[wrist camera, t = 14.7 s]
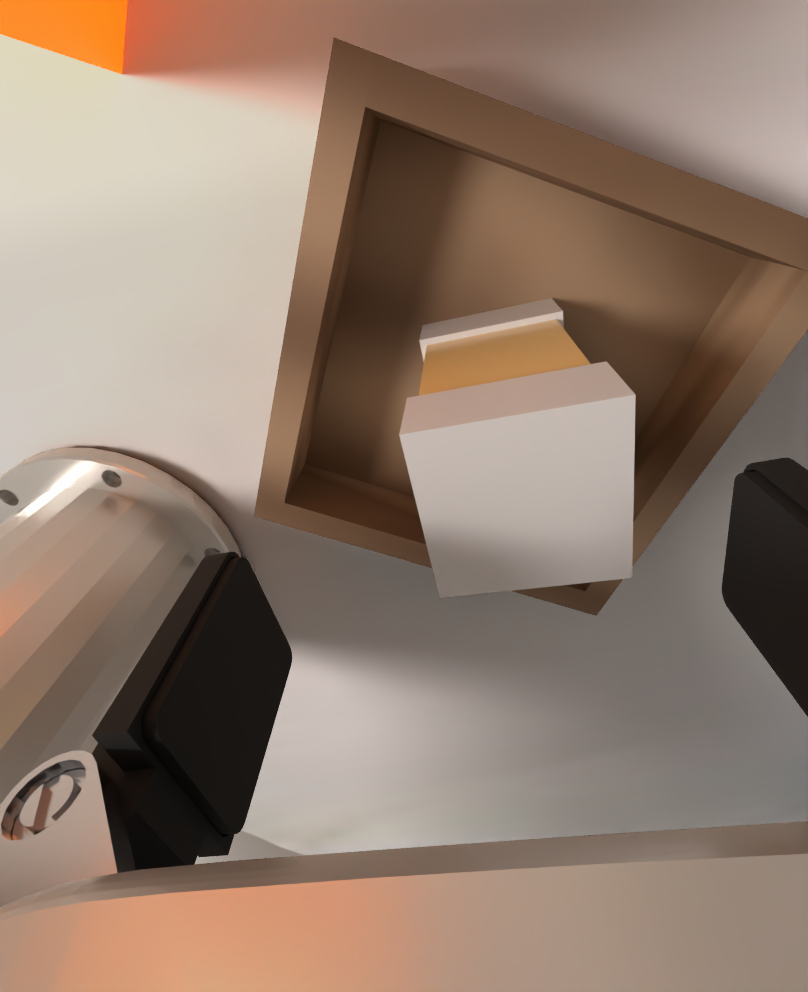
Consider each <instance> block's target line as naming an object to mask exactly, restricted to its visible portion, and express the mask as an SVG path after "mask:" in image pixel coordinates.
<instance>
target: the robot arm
mask: <svg viewBox="0 0 808 992" xmlns="http://www.w3.org/2000/svg"><path fill="white" fill-rule="evenodd" d="M722 595H723V598H724V601H725V604H726V606H727V607H728V609H729V610H730V612H731V613H732V614H733V616H734V617H735V618H736V620H737V621H738V622H739V624H740V625H741V627H742V628H743V629H744V631H745V632H746V633H747V635H748V636H749V637H750V639H751V640H752V641H753V643H754V644H755V646H756V647H757V648H758V650H759V651H760V652H761V654H762V655H763V656H764V658H765V659H766V660H767V662H768V663H769V665H770V666H771V667H772V669H773V670H774V671H775V673H776V674H777V675H778V677H779V678H780V679H781V681H782V682H783V684H784V685H785V686H786V688H787V689H788V690H789V692H790V693H791V694H792V696H793V697H794V699H795V700H796V701H797V703H798V704H799V705H800V707H801V708H802V709H803V711H804V712H805V713H806V715H807V716H808V470H807V469H805V468H804V467H802V466H801V465H799V464H798V463H797V462H795V461H794V460H792V459H790V458H780V459H774V460H768V461H762V462H757V463H751V464H749V465H747V467H746V468H745V470H744V473H740V474H738V475H737V476H736V478H735V482H734V489H733V498H732V506H731V514H730V523H729V531H728V540H727V548H726V557H725V565H724V573H723V582H722ZM291 663H292V652H291V648H290V645H289V643H288V641H287V639H286V637H285V635H284V633H283V631H282V629H281V627H280V625H279V623H278V621H277V619H276V617H275V615H274V613H273V611H272V609H271V606H270V604H269V602H268V600H267V598H266V596H265V594H264V592H263V590H262V588H261V586H260V584H259V582H258V580H257V578H256V576H255V574H254V572H253V570H252V568H251V565H250V563H249V562H248V560H247V559H246V558H245V557H241V554H240V551H239V548H238V545H237V544H236V542H235V540H234V538H233V536H232V535H231V533H230V531H229V529H228V528H227V526H226V525H225V524H224V522H223V521H222V520H221V519H220V518H219V516H218V515H217V514H216V513H215V511H214V510H213V509H212V508H211V507H210V506H209V505H208V504H207V503H206V502H205V501H204V500H202V499H201V498H200V497H199V496H198V495H197V494H196V493H195V492H194V491H193V490H191V489H190V488H188V487H187V486H185V485H184V484H182V483H181V482H180V481H178V480H177V479H175V478H174V477H172V476H171V475H169V474H167V473H165V472H163V471H161V470H159V469H157V468H155V467H153V466H151V465H149V464H147V463H145V462H143V461H140V460H137V459H134V458H132V457H129V456H126V455H123V454H120V453H117V452H111V451H105V450H100V449H94V448H60V449H55V450H50V451H45V452H41V453H39V454H37V455H35V456H33V457H30V458H28V459H26V460H24V461H22V462H21V463H20V464H18V465H17V466H15V467H14V468H12V469H11V470H9V471H8V472H7V473H5V474H4V475H2V476H1V477H0V992H808V821H806V822H791V823H775V824H759V825H743V826H727V827H712V828H696V829H680V830H664V831H649V832H633V833H618V834H603V835H588V836H573V837H559V838H544V839H529V840H514V841H500V842H486V843H471V844H457V845H442V846H428V847H413V848H399V849H386V850H372V851H359V852H345V853H332V854H318V855H305V856H291V857H278V858H264V859H253V860H239V861H227V862H216V863H207V864H196V865H194V864H195V861H196V858H197V855H198V856H199V857H207V856H220V855H221V856H222V855H228V853H229V850H230V847H231V844H232V840H233V837H234V834H237V833H238V832H240V831H241V829H242V828H243V826H244V823H245V820H246V817H247V813H248V810H249V807H250V803H251V800H252V796H253V793H254V790H255V786H256V783H257V779H258V776H259V773H260V769H261V766H262V762H263V759H264V756H265V752H266V749H267V745H268V742H269V739H270V735H271V732H272V728H273V725H274V722H275V718H276V715H277V711H278V708H279V705H280V701H281V698H282V694H283V691H284V688H285V684H286V681H287V677H288V674H289V671H290V667H291Z"/></svg>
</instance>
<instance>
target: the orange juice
mask: <svg viewBox="0 0 808 992" xmlns="http://www.w3.org/2000/svg"><path fill="white" fill-rule="evenodd" d="M126 14H127V0H0V34H2V35H5V36H8V37H11V38H14V39H17V40H20V41H23V42H26V43H29V44H32V45H35V46H38V47H41V48H44V49H47V50H50V51H53V52H56V53H59V54H62V55H65V56H68V57H71V58H74V59H78V60H81V61H84V62H87V63H90V64H93V65H96V66H99V67H102V68H105V69H108V70H111V71H114V72H117V73H120V74H122V68H123V54H124V41H125V27H126Z"/></svg>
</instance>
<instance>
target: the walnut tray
mask: <svg viewBox="0 0 808 992" xmlns="http://www.w3.org/2000/svg"><path fill="white" fill-rule="evenodd" d="M550 298H552V299H553V300H554V301H555V303H556V304H557V305H558V306H559V307H560V308H561V309H562V311H563V323H564V330H565V331H566V332H567V334H568V335H569V336H570V337H571V339H572V340H573V341H574V343H575V344H576V345H577V347H578V348H579V349H580V350H581V352H582V353H583V354H584V356H585V357H586V358H587V360H588V361H589V362H590V363H591V364H595V363H600V362H606V361H607V362H608V364H609V365H610V366H611V367H612V368H613V369H614V370H615V372H616V373H617V374H618V375H619V376H620V377H621V378H622V380H623V381H624V382H625V383H626V384H627V385H628V387H629V388H630V389H631V390H632V391H633V392H634V393H635V395H636V400H635V453H634V506H633V559H632V566H633V565H634V564H635V562H636V561H637V560H638V558H639V557H640V556H641V554H642V553H643V552H644V550H645V549H646V547H647V546H648V545H649V543H650V542H651V541H652V539H653V538H654V537H655V535H656V534H657V533H658V531H659V530H660V529H661V527H662V526H663V524H664V523H665V522H666V520H667V519H668V518H669V516H670V515H671V514H672V512H673V511H674V510H675V508H676V507H677V506H678V504H679V503H680V501H681V500H682V499H683V497H684V496H685V495H686V493H687V492H688V491H689V489H690V488H691V487H692V485H693V484H694V483H695V481H696V480H697V478H698V477H699V476H700V474H701V473H702V472H703V470H704V469H705V468H706V466H707V465H708V464H709V462H710V461H711V459H712V458H713V457H714V455H715V454H716V453H717V451H718V450H719V449H720V447H721V446H722V445H723V443H724V442H725V441H726V439H727V438H728V436H729V435H730V434H731V432H732V431H733V430H734V428H735V427H736V426H737V424H738V423H739V422H740V420H741V419H742V418H743V416H744V415H745V413H746V412H747V411H748V409H749V408H750V407H751V405H752V404H753V403H754V401H755V400H756V399H757V397H758V396H759V395H760V393H761V392H762V390H763V389H764V388H765V386H766V385H767V384H768V382H769V381H770V380H771V378H772V377H773V376H774V374H775V373H776V371H777V370H778V369H779V367H780V366H781V365H782V363H783V362H784V361H785V359H786V358H787V357H788V355H789V354H790V353H791V351H792V350H793V348H794V347H795V346H796V344H797V343H798V342H799V340H800V339H801V338H802V336H803V335H804V334H805V332H806V331H807V330H808V218H805V217H803V216H800V215H797V214H795V213H792V212H789V211H787V210H784V209H782V208H779V207H776V206H774V205H771V204H769V203H766V202H763V201H761V200H758V199H755V198H753V197H750V196H748V195H745V194H742V193H740V192H737V191H734V190H732V189H729V188H727V187H724V186H721V185H719V184H716V183H714V182H711V181H708V180H706V179H703V178H700V177H698V176H695V175H693V174H690V173H687V172H685V171H682V170H679V169H677V168H674V167H672V166H669V165H666V164H664V163H661V162H659V161H656V160H653V159H651V158H648V157H645V156H643V155H640V154H638V153H635V152H632V151H630V150H627V149H624V148H622V147H619V146H617V145H614V144H611V143H609V142H606V141H604V140H601V139H598V138H596V137H593V136H590V135H588V134H585V133H583V132H580V131H577V130H575V129H572V128H570V127H567V126H564V125H562V124H559V123H556V122H554V121H551V120H549V119H546V118H543V117H541V116H538V115H535V114H533V113H530V112H528V111H525V110H522V109H520V108H517V107H515V106H512V105H509V104H507V103H504V102H501V101H499V100H496V99H494V98H491V97H488V96H486V95H483V94H480V93H478V92H475V91H473V90H470V89H467V88H465V87H462V86H460V85H457V84H454V83H452V82H449V81H446V80H444V79H441V78H439V77H436V76H433V75H431V74H428V73H425V72H423V71H420V70H418V69H415V68H412V67H410V66H407V65H405V64H402V63H399V62H397V61H394V60H391V59H389V58H386V57H384V56H381V55H378V54H376V53H373V52H370V51H368V50H365V49H363V48H360V47H357V46H355V45H352V44H350V43H347V42H344V41H342V40H339V39H336V38H334V40H333V46H332V52H331V58H330V64H329V70H328V76H327V82H326V88H325V94H324V100H323V106H322V112H321V118H320V124H319V130H318V136H317V142H316V148H315V154H314V160H313V166H312V172H311V178H310V184H309V190H308V196H307V202H306V208H305V214H304V220H303V226H302V232H301V238H300V244H299V250H298V256H297V262H296V268H295V274H294V280H293V286H292V292H291V298H290V304H289V310H288V316H287V322H286V328H285V334H284V340H283V346H282V352H281V358H280V364H279V370H278V376H277V382H276V388H275V394H274V400H273V406H272V412H271V418H270V424H269V430H268V436H267V442H266V448H265V454H264V460H263V466H262V472H261V478H260V484H259V490H258V496H257V502H256V508H255V514H254V516H255V517H258V518H262V519H265V520H268V521H272V522H275V523H279V524H282V525H286V526H289V527H293V528H296V529H299V530H303V531H306V532H310V533H313V534H317V535H320V536H324V537H327V538H331V539H334V540H337V541H341V542H344V543H348V544H351V545H355V546H358V547H362V548H365V549H368V550H372V551H375V552H379V553H382V554H386V555H389V556H393V557H396V558H399V559H403V560H406V561H410V562H413V563H417V564H420V565H424V566H427V567H431V568H432V565H431V561H430V557H429V553H428V549H427V545H426V541H425V537H424V533H423V529H422V525H421V521H420V517H419V513H418V509H417V505H416V501H415V497H414V493H413V489H412V485H411V481H410V477H409V473H408V469H407V464H406V460H405V456H404V452H403V448H402V444H401V440H400V436H399V433H400V428H401V424H402V419H403V414H404V410H405V405H406V400H407V398H409V397H415V396H419V390H420V384H421V378H422V372H423V365H424V361H423V356H422V351H421V347H420V342H419V339H420V334H421V330H422V325H426V324H430V323H435V322H440V321H445V320H450V319H454V318H459V317H464V316H469V315H473V314H478V313H483V312H488V311H492V310H497V309H502V308H507V307H511V306H516V305H521V304H526V303H531V302H535V301H540V300H545V299H550ZM622 580H623V579H617V580H608V581H598V582H589V583H580V584H570V585H561V586H551V587H542V588H532V589H523V590H513V592H517V593H520V594H524V595H527V596H531V597H534V598H537V599H541V600H544V601H548V602H551V603H555V604H558V605H562V606H565V607H568V608H572V609H575V610H579V611H582V612H586V613H589V614H593V615H597V614H598V612H599V611H600V610H601V608H602V607H603V606H604V604H605V603H606V602H607V600H608V599H609V598H610V596H611V595H612V594H613V592H614V591H615V589H616V588H617V587H618V585H619V584H620V583H621V581H622Z"/></svg>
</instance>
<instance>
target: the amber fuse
mask: <svg viewBox="0 0 808 992" xmlns="http://www.w3.org/2000/svg"><path fill="white" fill-rule="evenodd" d="M419 342H420V347H421V351H422V356H423V361H424V365H423V372H422V378H421V384H420V390H419V396H415V397H409V398H407V400H406V405H405V410H404V414H403V419H402V424H401V428H400V433H399V436H400V440H401V444H402V448H403V452H404V456H405V460H406V464H407V469H408V473H409V477H410V481H411V485H412V489H413V493H414V497H415V501H416V505H417V509H418V513H419V517H420V521H421V525H422V529H423V533H424V537H425V541H426V545H427V549H428V553H429V557H430V561H431V565H432V569H433V573H434V577H435V581H436V585H437V590H438V594H439V598H447V597H456V596H466V595H475V594H485V593H494V592H504V591H513V590H523V589H532V588H542V587H551V586H561V585H570V584H580V583H589V582H598V581H608V580H617V579H627V578H632V559H633V506H634V453H635V400H636V395H635V393H634V392H633V391H632V390H631V389H630V388H629V387H628V385H627V384H626V383H625V382H624V381H623V380H622V378H621V377H620V376H619V375H618V374H617V373H616V372H615V370H614V369H613V368H612V367H611V366H610V365H609V364H608V362H607V361H606V362H600V363H595V364H591V363H590V362H589V361H588V360H587V358H586V357H585V356H584V354H583V353H582V352H581V350H580V349H579V348H578V347H577V345H576V344H575V343H574V341H573V340H572V339H571V337H570V336H569V335H568V334H567V332H566V331H565V330H564V323H563V311H562V309H561V308H560V307H559V306H558V305H557V304H556V303H555V301H554V300H553V299H552V298H550V299H545V300H540V301H535V302H531V303H526V304H521V305H516V306H511V307H507V308H502V309H497V310H492V311H488V312H483V313H478V314H473V315H469V316H464V317H459V318H454V319H450V320H445V321H440V322H435V323H430V324H426V325H422V330H421V334H420V339H419Z"/></svg>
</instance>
